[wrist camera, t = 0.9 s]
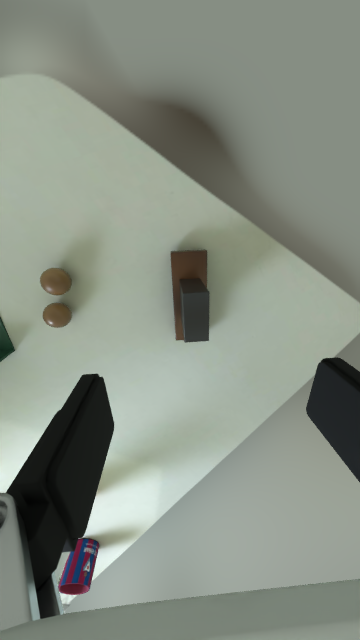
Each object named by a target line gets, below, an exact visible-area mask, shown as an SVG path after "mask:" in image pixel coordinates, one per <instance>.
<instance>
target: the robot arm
mask: <svg viewBox="0 0 360 640" xmlns="http://www.w3.org/2000/svg"><path fill="white" fill-rule="evenodd" d="M306 411H307V414H308V416H309V417H310V419H311V420H312V421H313V423H314V424H315V425H316V426H317V428H318V429H319V430H320V432H321V433H322V434H323V436H324V437H325V438H326V439H327V441H328V442H329V443H330V445H331V446H332V447H333V448H334V450H335V451H336V452H337V454H338V455H339V456H340V457H341V459H342V460H343V461H344V463H345V464H346V465H347V466H348V468H349V469H350V470H351V472H352V473H353V474H354V475H355V477H356V478H357V479H358V481H359V482H360V372H359V371H358V370H356V369H355V368H354V367H352V366H351V365H349V364H348V363H347V362H345V361H344V360H342V359H341V358H325V359H323V360H322V361H321V362H320V363H319V364H318V367H317V370H316V374H315V378H314V381H313V385H312V389H311V392H310V396H309V400H308V403H307V407H306ZM113 431H114V421H113V417H112V412H111V408H110V404H109V400H108V395H107V391H106V387H105V383H104V379H103V377H99V375H98V374H86V375H82V376H81V378H80V380H79V381H78V383H77V384H76V386H75V388H74V389H73V391H72V393H71V394H70V396H69V397H68V399H67V401H66V402H65V404H64V406H63V407H62V409H61V410H59V411H58V412H57V413H56V414H55V416H54V417H53V419H52V421H51V422H50V424H49V425H48V427H47V428H46V430H45V432H44V433H43V435H42V436H41V438H40V440H39V441H38V443H37V444H36V446H35V447H34V449H33V451H32V452H31V454H30V455H29V457H28V459H27V460H26V462H25V463H24V465H23V467H22V468H21V470H20V471H19V473H18V474H17V476H16V478H15V479H14V481H13V482H12V484H11V486H10V487H9V489H8V490H7V492H6V493H0V640H360V579H356V580H347V581H337V582H327V583H318V584H308V585H299V586H290V587H281V588H271V589H263V590H253V591H244V592H235V593H226V594H218V595H208V596H200V597H191V598H182V599H174V600H164V601H156V602H147V603H138V604H131V605H124V606H116V607H109V608H102V609H95V610H88V611H81V612H73V613H67V614H64V610H63V606H62V601H61V597H60V593H59V589H58V584H57V580H56V576H55V570H56V569H57V566H58V563H59V560H60V557H61V554H62V553H63V552H73V551H75V548H76V545H77V542H78V538H82V537H83V536H84V534H85V531H86V528H87V524H88V521H89V517H90V514H91V510H92V507H93V503H94V499H95V496H96V492H97V489H98V485H99V481H100V478H101V474H102V471H103V467H104V464H105V460H106V456H107V453H108V449H109V446H110V442H111V438H112V435H113Z"/></svg>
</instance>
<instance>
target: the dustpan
mask: <svg viewBox="0 0 360 640" xmlns="http://www.w3.org/2000/svg"><path fill="white" fill-rule="evenodd" d="M14 351H15V350H14V347H13V345H12V343H11V341H10V338H9V336H8V334H7V331H6V329H5V327H4V325H3V322H2V320H1V318H0V362H1V361H2V360H3V359H5V358H6V357H7V356H8V355H10V354H11V353H12V352H14Z"/></svg>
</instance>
